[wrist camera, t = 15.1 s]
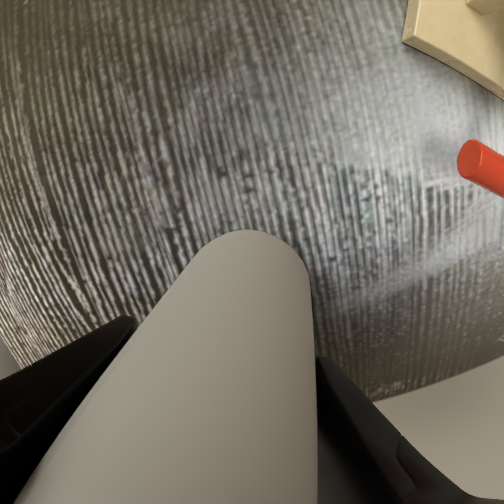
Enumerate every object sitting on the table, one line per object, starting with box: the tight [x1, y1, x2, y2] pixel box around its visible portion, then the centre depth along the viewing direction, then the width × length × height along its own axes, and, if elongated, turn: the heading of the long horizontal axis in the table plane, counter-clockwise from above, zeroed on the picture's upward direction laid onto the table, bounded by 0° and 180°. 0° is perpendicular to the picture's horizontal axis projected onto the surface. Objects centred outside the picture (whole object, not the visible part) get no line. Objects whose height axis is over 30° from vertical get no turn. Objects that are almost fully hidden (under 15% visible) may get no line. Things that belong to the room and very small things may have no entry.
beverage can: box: [14, 229, 318, 504], centre depth 7 cm, size 5×5×12 cm
